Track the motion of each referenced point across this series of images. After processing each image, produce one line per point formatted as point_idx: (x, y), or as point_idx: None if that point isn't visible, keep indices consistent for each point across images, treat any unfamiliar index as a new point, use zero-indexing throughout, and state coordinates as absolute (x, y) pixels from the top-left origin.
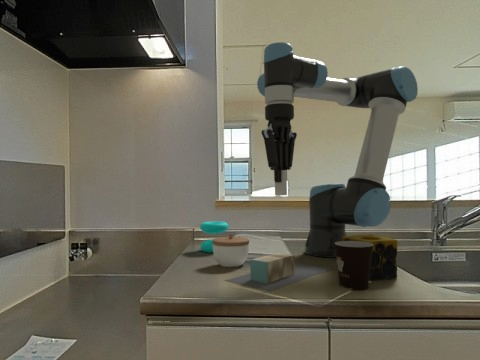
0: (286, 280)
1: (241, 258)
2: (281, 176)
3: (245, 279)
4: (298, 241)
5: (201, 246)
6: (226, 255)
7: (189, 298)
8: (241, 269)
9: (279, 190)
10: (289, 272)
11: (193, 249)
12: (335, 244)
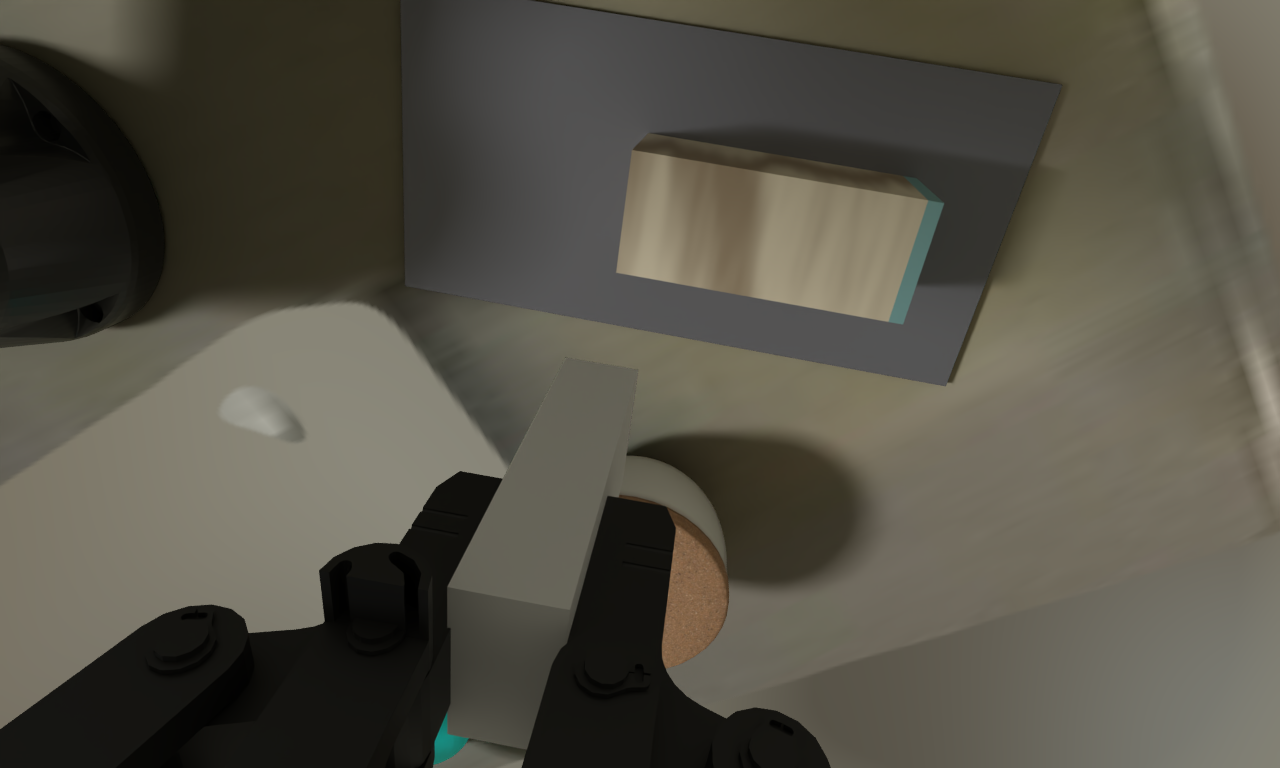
0: (808, 109)
1: (659, 464)
2: (590, 554)
3: None
4: None
5: (464, 744)
6: (720, 527)
7: (1270, 378)
8: (675, 431)
9: (622, 456)
10: (701, 144)
11: (455, 765)
12: None
